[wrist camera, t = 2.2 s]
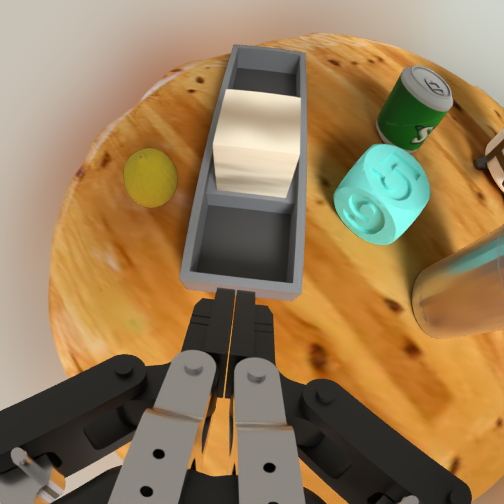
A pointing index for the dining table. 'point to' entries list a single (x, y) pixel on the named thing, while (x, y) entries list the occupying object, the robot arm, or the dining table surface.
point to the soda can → (414, 108)
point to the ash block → (257, 142)
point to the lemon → (150, 177)
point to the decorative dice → (382, 194)
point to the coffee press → (494, 159)
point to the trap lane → (251, 198)
